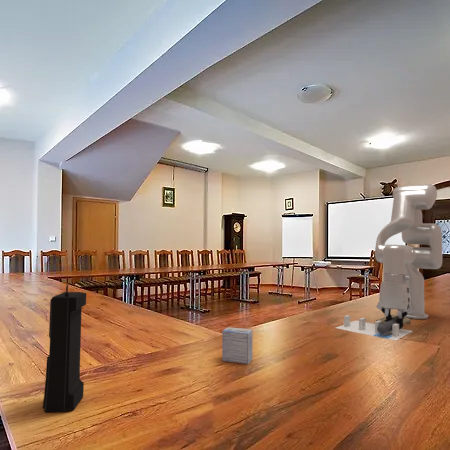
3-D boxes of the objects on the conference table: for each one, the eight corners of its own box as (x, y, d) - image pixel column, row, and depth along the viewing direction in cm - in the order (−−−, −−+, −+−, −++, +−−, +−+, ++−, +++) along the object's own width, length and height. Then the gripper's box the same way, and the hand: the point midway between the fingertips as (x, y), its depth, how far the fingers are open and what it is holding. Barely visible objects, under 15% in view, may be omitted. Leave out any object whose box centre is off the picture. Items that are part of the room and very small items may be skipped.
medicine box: (252, 359, 99) (253, 329, 100) (248, 365, 95) (249, 333, 95) (226, 356, 102) (227, 326, 102) (221, 361, 98) (222, 330, 98)
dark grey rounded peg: (391, 326, 131) (390, 318, 131) (399, 328, 129) (399, 319, 129) (375, 333, 121) (375, 324, 121) (384, 335, 119) (384, 326, 119)
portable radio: (56, 395, 76) (60, 280, 77) (85, 394, 76) (88, 280, 77) (40, 413, 68) (45, 285, 69) (72, 412, 68) (76, 285, 69)
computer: (395, 331, 134) (395, 322, 134) (374, 326, 140) (374, 318, 140) (411, 324, 145) (411, 316, 145) (391, 321, 151) (391, 313, 151)
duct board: (355, 322, 145) (355, 310, 145) (413, 333, 129) (413, 320, 129) (334, 330, 132) (334, 317, 132) (395, 343, 116) (395, 328, 117)
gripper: (421, 279, 127) (421, 330, 126) (376, 275, 139) (376, 322, 138) (414, 281, 122) (415, 334, 121) (368, 277, 133) (368, 325, 133)
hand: (394, 327), depth 130 cm, fingers closed on dark grey rounded peg, 2 cm apart
